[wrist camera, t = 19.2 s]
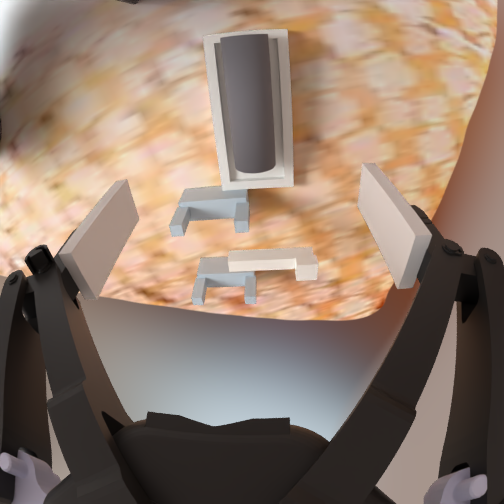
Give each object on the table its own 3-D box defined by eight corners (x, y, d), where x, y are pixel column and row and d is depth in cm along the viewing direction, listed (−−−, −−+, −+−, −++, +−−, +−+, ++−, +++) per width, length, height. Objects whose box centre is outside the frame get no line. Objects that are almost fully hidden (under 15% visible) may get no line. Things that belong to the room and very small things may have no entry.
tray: (204, 36, 26) (202, 35, 25) (286, 30, 26) (287, 29, 24) (223, 185, 39) (222, 190, 38) (292, 181, 39) (293, 186, 38)
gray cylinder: (221, 38, 25) (217, 37, 22) (266, 34, 25) (269, 33, 21) (235, 158, 36) (234, 175, 32) (273, 155, 36) (277, 171, 32)
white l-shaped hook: (228, 248, 35) (226, 268, 32) (313, 244, 34) (318, 264, 31) (231, 263, 36) (228, 283, 33) (312, 259, 35) (316, 279, 33)
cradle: (182, 189, 40) (167, 221, 33) (249, 183, 39) (247, 215, 33) (202, 271, 50) (194, 307, 43) (256, 268, 49) (256, 306, 43)
